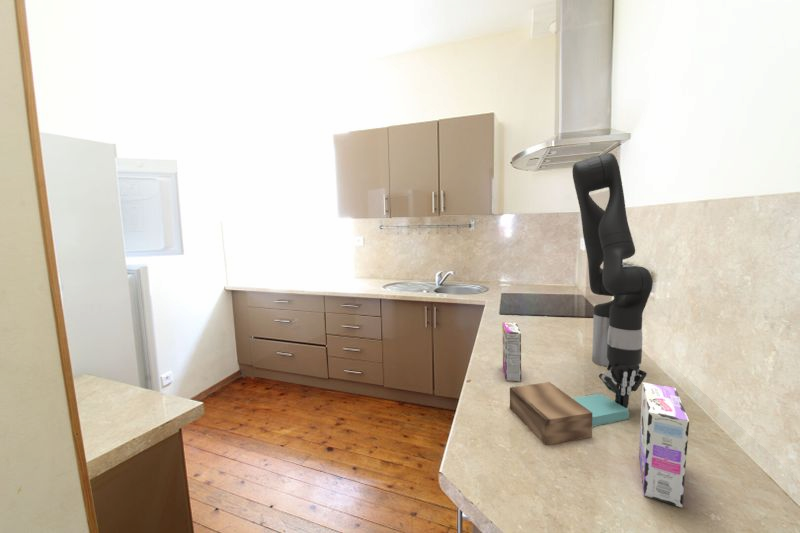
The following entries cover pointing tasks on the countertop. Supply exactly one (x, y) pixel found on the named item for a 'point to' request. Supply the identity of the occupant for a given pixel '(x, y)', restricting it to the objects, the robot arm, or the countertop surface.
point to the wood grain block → (550, 413)
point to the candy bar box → (511, 351)
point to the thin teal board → (603, 409)
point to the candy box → (663, 443)
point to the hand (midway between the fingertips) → (621, 406)
